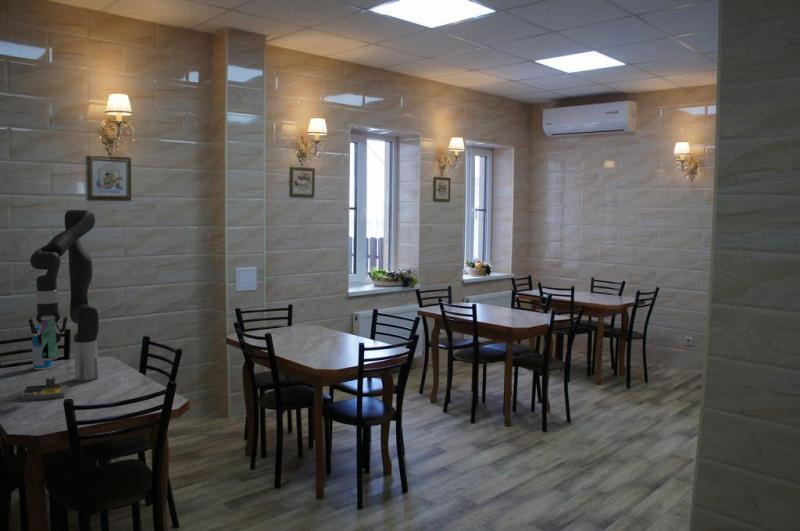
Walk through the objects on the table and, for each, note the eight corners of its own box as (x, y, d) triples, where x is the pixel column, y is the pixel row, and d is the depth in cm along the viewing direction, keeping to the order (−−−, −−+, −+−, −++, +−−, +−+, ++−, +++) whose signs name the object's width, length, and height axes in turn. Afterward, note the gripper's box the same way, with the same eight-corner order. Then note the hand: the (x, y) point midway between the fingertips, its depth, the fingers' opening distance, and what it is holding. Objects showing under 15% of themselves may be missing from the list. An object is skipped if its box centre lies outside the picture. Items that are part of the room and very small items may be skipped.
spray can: (54, 356, 261) (52, 308, 259) (60, 358, 257) (58, 309, 255) (40, 358, 256) (37, 309, 254) (45, 361, 253) (43, 311, 251)
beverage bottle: (32, 370, 297) (30, 328, 295) (33, 366, 304) (31, 325, 303) (52, 368, 301) (51, 327, 299) (53, 364, 308) (51, 324, 307)
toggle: (55, 386, 265) (54, 376, 264) (54, 388, 262) (54, 378, 262) (47, 387, 263) (46, 377, 263) (46, 389, 261) (45, 379, 261)
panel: (67, 389, 267) (67, 382, 267) (64, 397, 257) (63, 390, 257) (26, 393, 262) (26, 386, 262) (21, 401, 251) (21, 394, 251)
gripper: (68, 299, 261) (70, 339, 262) (28, 301, 255) (30, 342, 257) (66, 302, 254) (68, 343, 255) (25, 303, 248) (27, 346, 250)
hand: (49, 342), depth 256 cm, fingers closed on spray can, 5 cm apart
